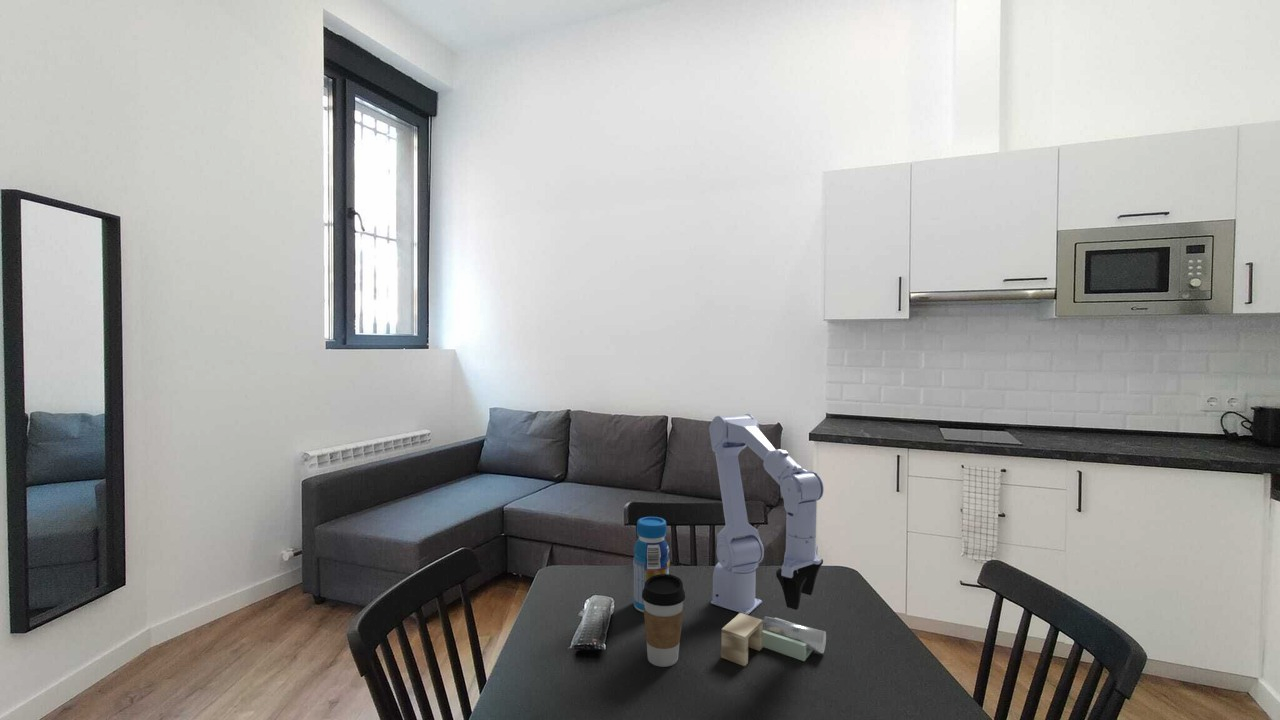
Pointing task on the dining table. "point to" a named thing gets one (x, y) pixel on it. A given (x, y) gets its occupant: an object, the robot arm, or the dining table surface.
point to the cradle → (785, 645)
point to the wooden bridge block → (741, 638)
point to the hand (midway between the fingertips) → (799, 600)
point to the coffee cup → (663, 618)
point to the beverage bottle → (649, 555)
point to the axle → (797, 633)
